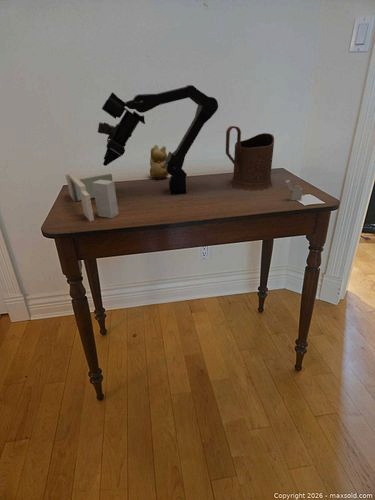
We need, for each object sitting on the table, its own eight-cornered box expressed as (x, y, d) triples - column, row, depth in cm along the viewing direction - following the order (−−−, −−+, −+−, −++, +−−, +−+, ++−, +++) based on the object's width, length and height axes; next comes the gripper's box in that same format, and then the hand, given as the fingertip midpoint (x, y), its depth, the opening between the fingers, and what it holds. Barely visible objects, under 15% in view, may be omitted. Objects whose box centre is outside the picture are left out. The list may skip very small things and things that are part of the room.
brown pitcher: (282, 185, 134) (289, 123, 122) (240, 196, 122) (244, 129, 110) (251, 176, 148) (255, 119, 136) (211, 185, 136) (212, 124, 124)
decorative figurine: (171, 176, 150) (170, 144, 143) (163, 181, 143) (161, 148, 136) (154, 175, 153) (152, 143, 146) (145, 179, 147) (142, 146, 140)
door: (75, 201, 121) (71, 180, 117) (74, 199, 123) (69, 178, 119) (114, 194, 128) (111, 173, 124) (112, 192, 130) (109, 172, 126)
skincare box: (119, 214, 109) (114, 180, 104) (111, 218, 106) (106, 184, 100) (105, 211, 112) (99, 179, 106) (97, 216, 108) (91, 182, 102)
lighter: (299, 198, 119) (302, 177, 115) (301, 199, 117) (304, 179, 113) (281, 200, 118) (284, 179, 114) (284, 201, 116) (286, 180, 112)
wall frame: (69, 195, 129) (64, 170, 124) (74, 195, 129) (68, 169, 124) (89, 221, 104) (83, 190, 99) (94, 220, 105) (89, 189, 100)
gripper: (107, 110, 118) (86, 145, 123) (106, 115, 102) (82, 155, 106) (132, 128, 123) (111, 161, 127) (135, 135, 107) (111, 173, 111)
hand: (104, 162), depth 118 cm, fingers open, 9 cm apart
